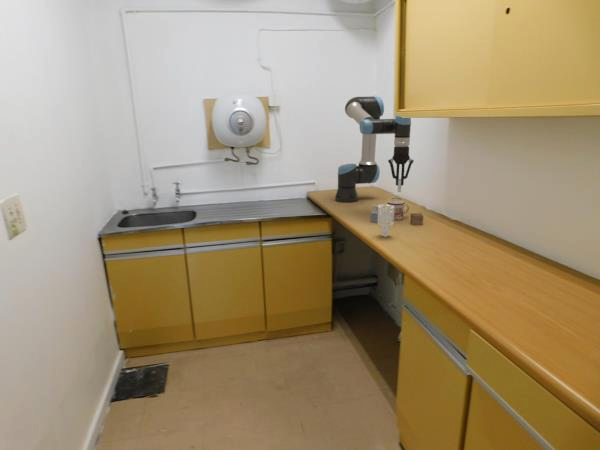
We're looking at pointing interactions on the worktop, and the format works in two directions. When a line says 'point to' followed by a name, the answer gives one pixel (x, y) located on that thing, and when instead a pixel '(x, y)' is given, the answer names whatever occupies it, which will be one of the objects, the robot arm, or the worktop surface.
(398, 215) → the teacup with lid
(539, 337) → the worktop surface
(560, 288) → the worktop surface
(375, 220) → the slate block
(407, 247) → the worktop surface
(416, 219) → the walnut block
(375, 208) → the sage block
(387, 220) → the pale grey tall piece
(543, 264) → the worktop surface
